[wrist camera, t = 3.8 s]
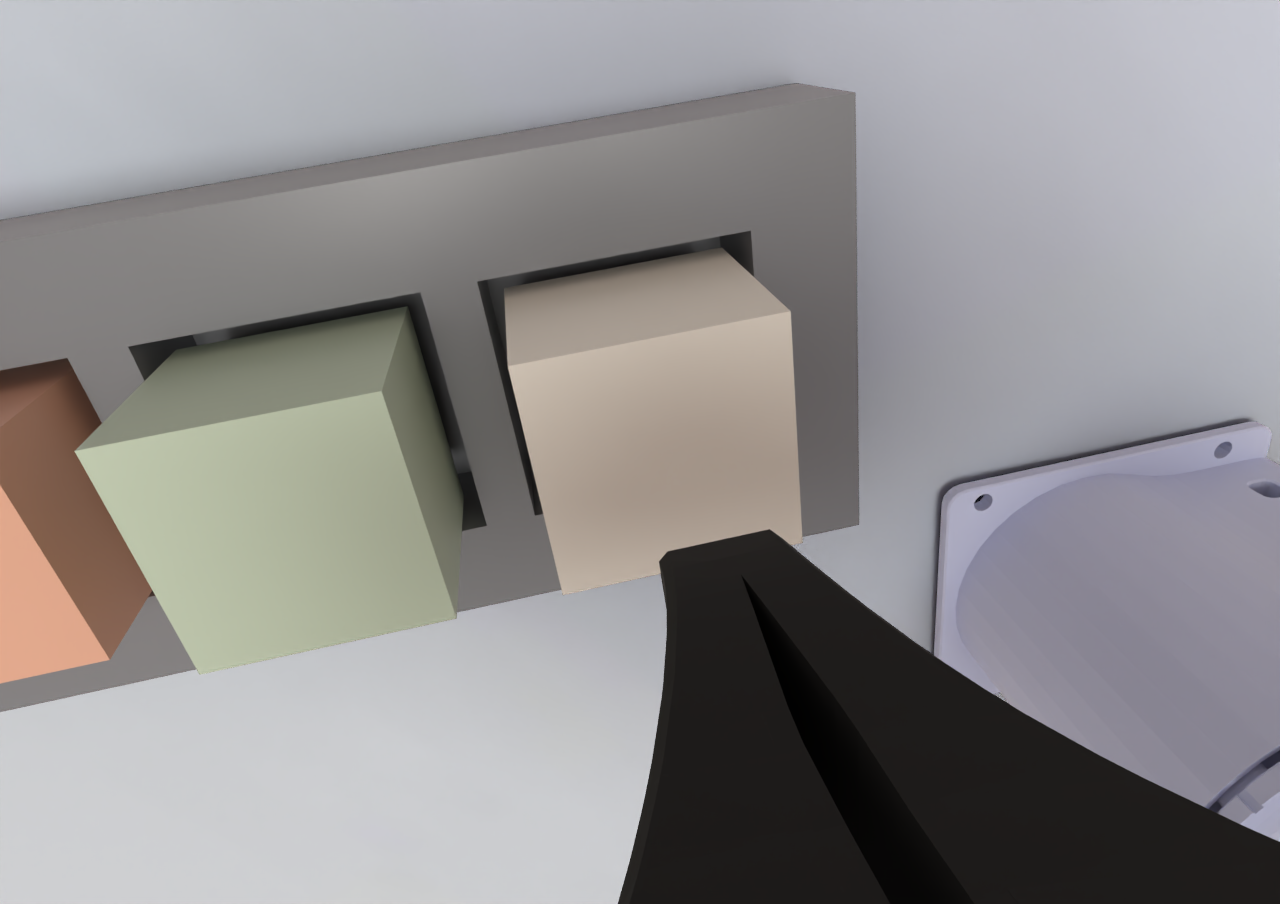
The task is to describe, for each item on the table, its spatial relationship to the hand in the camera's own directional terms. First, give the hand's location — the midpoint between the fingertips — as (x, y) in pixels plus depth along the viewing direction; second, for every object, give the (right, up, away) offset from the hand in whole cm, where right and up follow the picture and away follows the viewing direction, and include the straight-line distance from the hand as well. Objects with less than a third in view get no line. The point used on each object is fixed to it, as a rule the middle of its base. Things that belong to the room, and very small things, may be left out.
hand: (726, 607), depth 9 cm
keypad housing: (-7, +3, +8) cm, 12 cm away
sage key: (-7, +2, +6) cm, 10 cm away
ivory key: (-1, +4, +7) cm, 8 cm away
